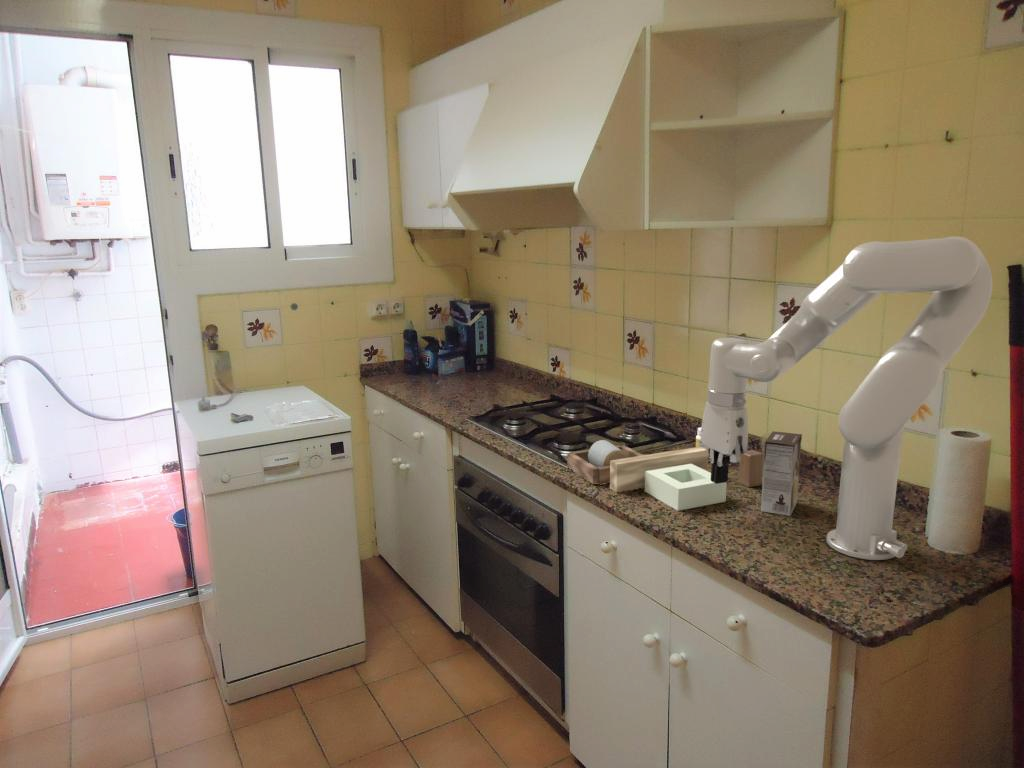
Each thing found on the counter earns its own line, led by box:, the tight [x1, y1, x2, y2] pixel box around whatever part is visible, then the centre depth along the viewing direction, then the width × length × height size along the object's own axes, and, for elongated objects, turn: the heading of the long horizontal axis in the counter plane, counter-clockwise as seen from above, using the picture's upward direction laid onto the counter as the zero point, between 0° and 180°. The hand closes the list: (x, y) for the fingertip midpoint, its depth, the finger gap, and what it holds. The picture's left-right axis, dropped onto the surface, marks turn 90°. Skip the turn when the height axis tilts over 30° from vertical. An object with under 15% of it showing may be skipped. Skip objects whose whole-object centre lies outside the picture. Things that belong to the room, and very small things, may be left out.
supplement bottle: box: [695, 426, 710, 462], centre depth 189 cm, size 5×5×8 cm
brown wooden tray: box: [566, 444, 644, 485], centre depth 181 cm, size 15×17×4 cm
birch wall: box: [609, 446, 709, 494], centre depth 172 cm, size 3×26×7 cm, turn 113°
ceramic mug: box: [588, 439, 626, 468], centre depth 181 cm, size 11×8×8 cm
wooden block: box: [738, 449, 764, 488], centre depth 171 cm, size 4×4×8 cm
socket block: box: [644, 464, 728, 512], centre depth 164 cm, size 13×13×5 cm
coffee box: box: [760, 430, 803, 517], centre depth 156 cm, size 9×6×16 cm
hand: (718, 481), depth 151 cm, fingers closed
